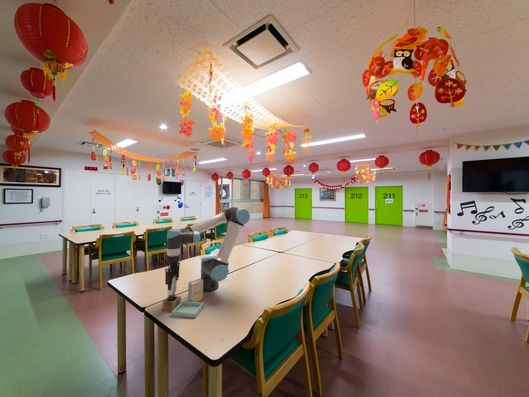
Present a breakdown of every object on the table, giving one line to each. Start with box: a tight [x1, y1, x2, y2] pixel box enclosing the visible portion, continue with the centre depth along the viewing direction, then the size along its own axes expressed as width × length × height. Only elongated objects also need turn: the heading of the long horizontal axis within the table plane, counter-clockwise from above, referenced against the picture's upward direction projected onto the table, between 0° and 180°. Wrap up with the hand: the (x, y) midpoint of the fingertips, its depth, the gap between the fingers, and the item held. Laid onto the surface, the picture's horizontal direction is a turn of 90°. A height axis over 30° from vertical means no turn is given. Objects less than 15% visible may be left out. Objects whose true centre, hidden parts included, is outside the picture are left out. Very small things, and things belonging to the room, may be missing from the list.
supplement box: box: [187, 278, 204, 302], centre depth 132 cm, size 8×5×13 cm, turn 141°
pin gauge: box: [167, 275, 176, 301], centre depth 124 cm, size 4×4×15 cm
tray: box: [171, 300, 205, 319], centre depth 120 cm, size 12×14×2 cm
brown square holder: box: [162, 295, 182, 312], centre depth 124 cm, size 8×8×5 cm
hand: (171, 292), depth 124 cm, fingers closed on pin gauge, 4 cm apart
